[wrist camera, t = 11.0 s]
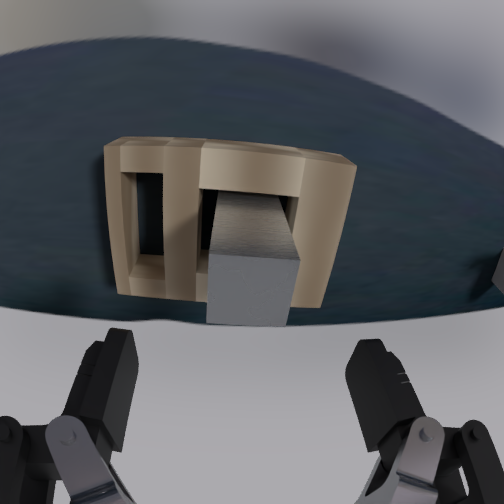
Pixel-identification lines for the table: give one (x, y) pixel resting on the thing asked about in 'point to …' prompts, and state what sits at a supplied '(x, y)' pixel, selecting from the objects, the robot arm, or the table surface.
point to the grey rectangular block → (250, 261)
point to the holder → (191, 202)
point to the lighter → (499, 274)
